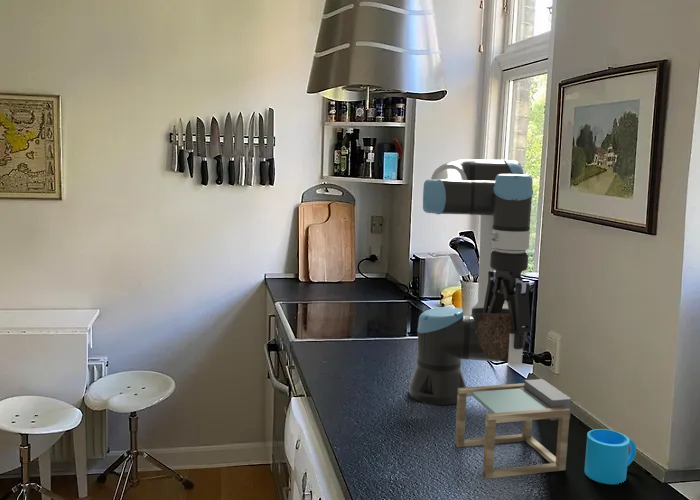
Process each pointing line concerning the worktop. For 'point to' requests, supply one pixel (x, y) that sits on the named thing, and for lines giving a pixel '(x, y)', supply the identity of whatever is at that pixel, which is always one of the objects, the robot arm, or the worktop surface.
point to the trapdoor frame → (525, 416)
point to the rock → (495, 335)
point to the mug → (608, 456)
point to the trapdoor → (524, 398)
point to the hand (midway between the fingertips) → (503, 355)
